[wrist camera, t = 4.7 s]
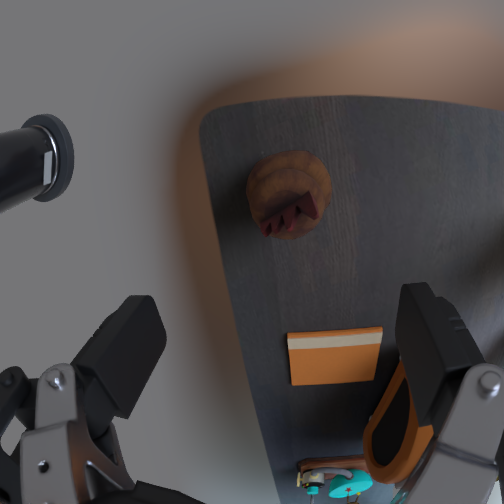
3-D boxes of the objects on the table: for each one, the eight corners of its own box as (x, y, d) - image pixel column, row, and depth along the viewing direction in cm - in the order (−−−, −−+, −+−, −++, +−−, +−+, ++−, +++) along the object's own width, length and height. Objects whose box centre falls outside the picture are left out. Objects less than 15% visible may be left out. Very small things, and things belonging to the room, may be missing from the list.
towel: (291, 383, 41) (291, 386, 40) (287, 332, 36) (287, 336, 36) (373, 377, 38) (373, 381, 38) (381, 326, 34) (383, 329, 34)
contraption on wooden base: (296, 454, 51) (290, 516, 37) (382, 447, 47) (387, 509, 34) (299, 476, 57) (293, 528, 43) (372, 470, 53) (374, 522, 40)
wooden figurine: (318, 140, 26) (341, 166, 13) (330, 198, 29) (357, 275, 15) (249, 155, 28) (202, 195, 14) (263, 210, 30) (234, 294, 17)
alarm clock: (404, 333, 34) (438, 442, 19) (458, 332, 33) (501, 427, 18) (359, 428, 44) (364, 508, 30) (403, 425, 43) (415, 501, 29)
